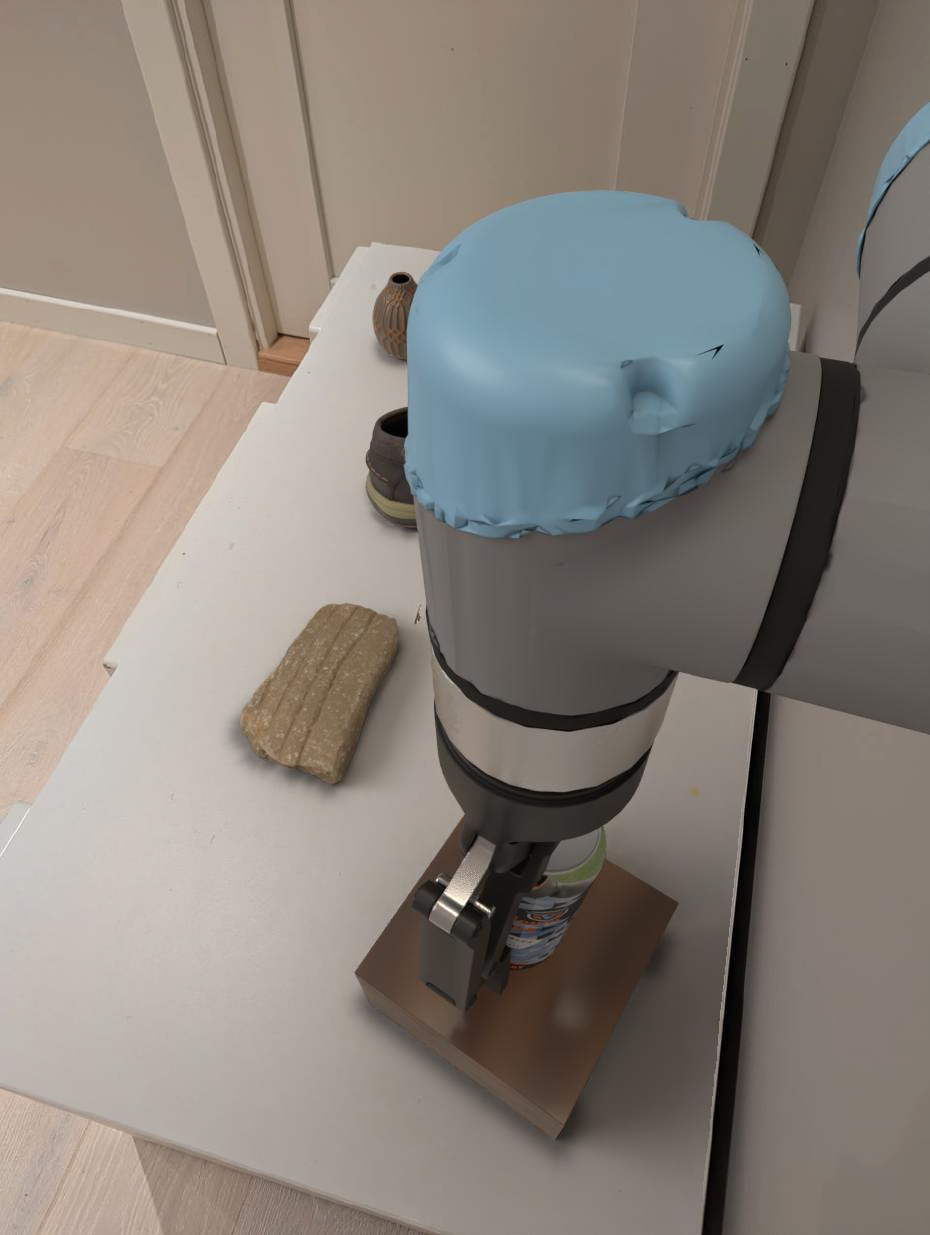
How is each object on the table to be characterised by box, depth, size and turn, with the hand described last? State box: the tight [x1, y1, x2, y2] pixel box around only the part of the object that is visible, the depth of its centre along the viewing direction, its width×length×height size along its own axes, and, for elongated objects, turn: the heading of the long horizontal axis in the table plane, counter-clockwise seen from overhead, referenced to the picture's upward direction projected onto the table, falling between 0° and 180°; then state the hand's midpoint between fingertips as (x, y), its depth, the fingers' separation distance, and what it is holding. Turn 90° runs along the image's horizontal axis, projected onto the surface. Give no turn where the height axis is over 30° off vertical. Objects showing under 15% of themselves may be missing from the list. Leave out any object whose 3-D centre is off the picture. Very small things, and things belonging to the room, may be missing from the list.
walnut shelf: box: [354, 814, 680, 1141], centre depth 54 cm, size 14×14×8 cm
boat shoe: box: [365, 406, 417, 529], centre depth 80 cm, size 11×29×11 cm, turn 110°
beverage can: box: [506, 825, 607, 970], centre depth 43 cm, size 6×7×12 cm
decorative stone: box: [239, 602, 400, 785], centre depth 69 cm, size 10×16×4 cm, turn 162°
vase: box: [372, 271, 418, 361], centre depth 93 cm, size 7×7×9 cm
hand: (522, 909), depth 47 cm, fingers closed on beverage can, 7 cm apart
